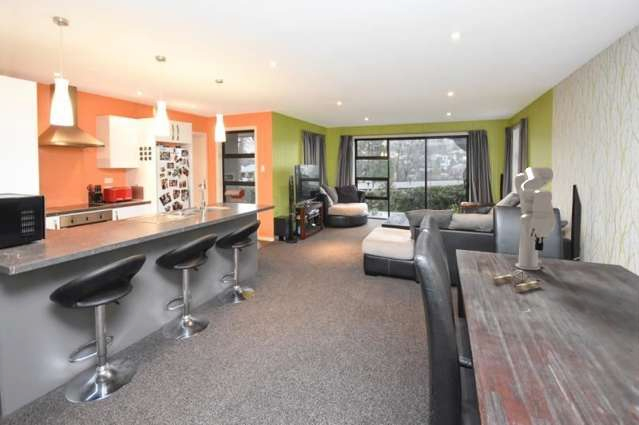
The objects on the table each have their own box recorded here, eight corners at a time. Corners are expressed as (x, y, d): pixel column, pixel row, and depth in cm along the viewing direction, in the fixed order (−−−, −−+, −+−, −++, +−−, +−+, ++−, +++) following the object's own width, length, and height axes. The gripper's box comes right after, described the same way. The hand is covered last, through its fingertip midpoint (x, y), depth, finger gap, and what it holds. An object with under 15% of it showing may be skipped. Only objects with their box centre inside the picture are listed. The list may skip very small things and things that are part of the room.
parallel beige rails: (513, 279, 181) (513, 272, 180) (540, 287, 168) (540, 279, 168) (492, 283, 174) (492, 276, 174) (518, 292, 161) (519, 284, 161)
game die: (519, 290, 174) (527, 274, 175) (527, 290, 166) (536, 272, 167) (502, 281, 176) (511, 264, 177) (509, 280, 168) (519, 263, 169)
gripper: (543, 213, 180) (540, 247, 182) (524, 215, 174) (522, 250, 176) (558, 214, 173) (555, 250, 175) (539, 216, 167) (536, 253, 169)
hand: (538, 250), depth 175 cm, fingers closed
